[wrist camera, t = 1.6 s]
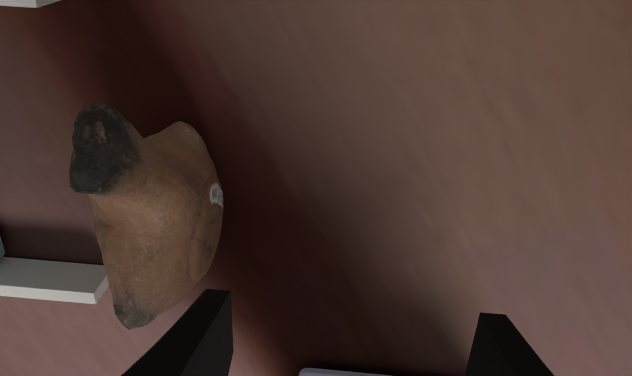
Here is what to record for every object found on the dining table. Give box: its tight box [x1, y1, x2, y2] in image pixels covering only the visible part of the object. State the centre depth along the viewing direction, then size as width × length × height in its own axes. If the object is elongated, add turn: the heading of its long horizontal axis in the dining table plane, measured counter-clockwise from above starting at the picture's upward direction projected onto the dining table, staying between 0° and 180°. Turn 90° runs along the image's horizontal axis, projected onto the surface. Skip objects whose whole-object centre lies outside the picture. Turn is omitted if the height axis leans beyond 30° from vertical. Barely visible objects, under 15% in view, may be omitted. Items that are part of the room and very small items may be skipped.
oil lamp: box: [70, 101, 223, 329], centre depth 18 cm, size 9×4×8 cm, turn 0°
